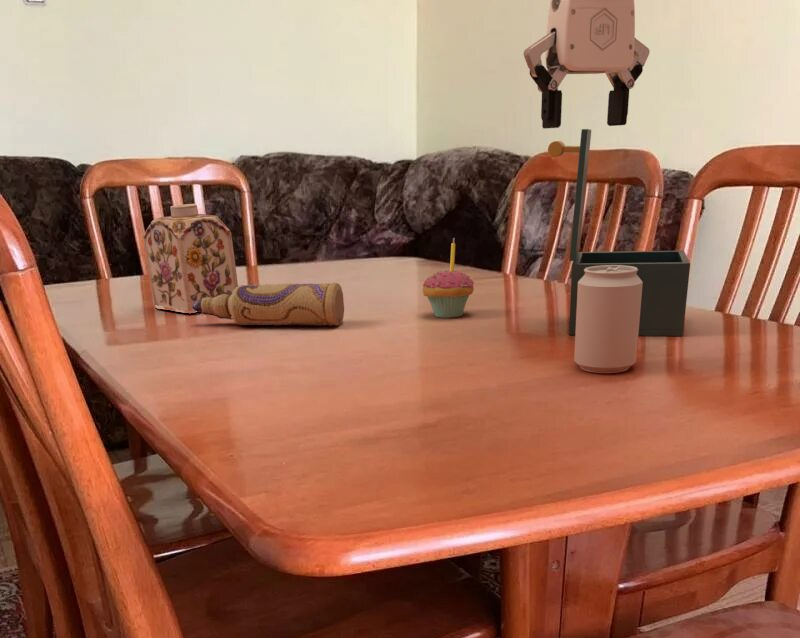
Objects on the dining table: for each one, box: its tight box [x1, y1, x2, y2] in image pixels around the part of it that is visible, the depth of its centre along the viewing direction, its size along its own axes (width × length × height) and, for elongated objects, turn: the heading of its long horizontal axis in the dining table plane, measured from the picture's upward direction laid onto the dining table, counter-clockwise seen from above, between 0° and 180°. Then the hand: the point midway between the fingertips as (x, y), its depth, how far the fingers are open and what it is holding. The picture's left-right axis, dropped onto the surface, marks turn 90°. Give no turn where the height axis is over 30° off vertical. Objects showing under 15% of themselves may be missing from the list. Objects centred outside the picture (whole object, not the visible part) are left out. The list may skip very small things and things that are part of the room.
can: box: [573, 265, 643, 374], centre depth 100 cm, size 8×8×12 cm
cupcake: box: [422, 237, 475, 319], centre depth 135 cm, size 9×8×12 cm
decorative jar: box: [142, 203, 239, 311], centre depth 151 cm, size 12×12×18 cm
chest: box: [568, 250, 691, 337], centre depth 122 cm, size 16×14×10 cm
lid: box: [547, 128, 592, 262], centre depth 118 cm, size 17×14×5 cm
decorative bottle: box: [192, 282, 345, 327], centre depth 135 cm, size 26×8×7 cm, turn 76°
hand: (584, 126), depth 103 cm, fingers open, 9 cm apart
